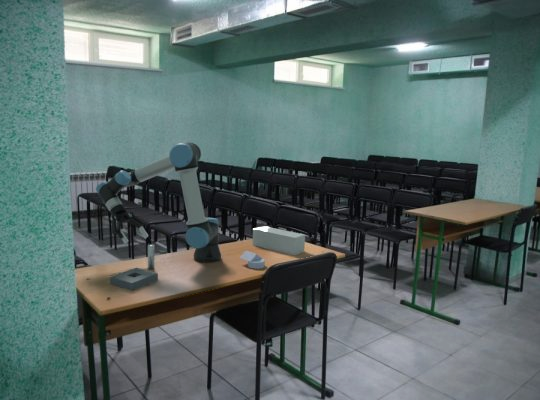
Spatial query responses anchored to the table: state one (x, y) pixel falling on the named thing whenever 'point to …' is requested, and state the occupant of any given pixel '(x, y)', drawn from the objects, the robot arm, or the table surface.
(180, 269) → the table surface
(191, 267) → the table surface
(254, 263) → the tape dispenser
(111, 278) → the hole block
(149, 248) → the peg
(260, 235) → the long white box
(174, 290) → the table surface
